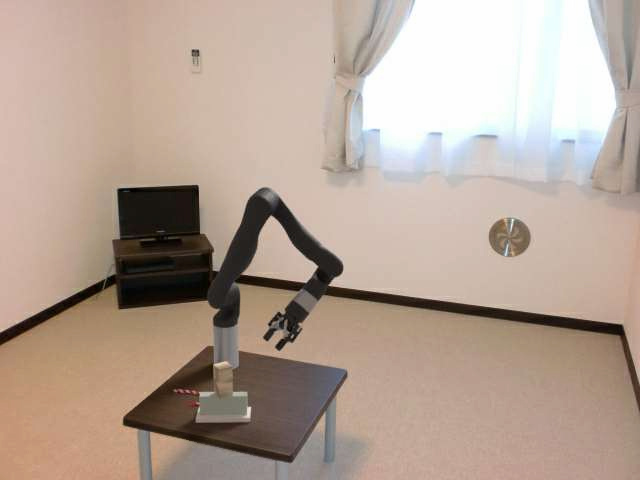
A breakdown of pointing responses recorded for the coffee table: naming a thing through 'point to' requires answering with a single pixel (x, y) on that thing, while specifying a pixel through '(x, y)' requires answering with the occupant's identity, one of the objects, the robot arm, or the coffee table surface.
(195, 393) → the candy cane
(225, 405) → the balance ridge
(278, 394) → the coffee table surface
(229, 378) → the pine block
